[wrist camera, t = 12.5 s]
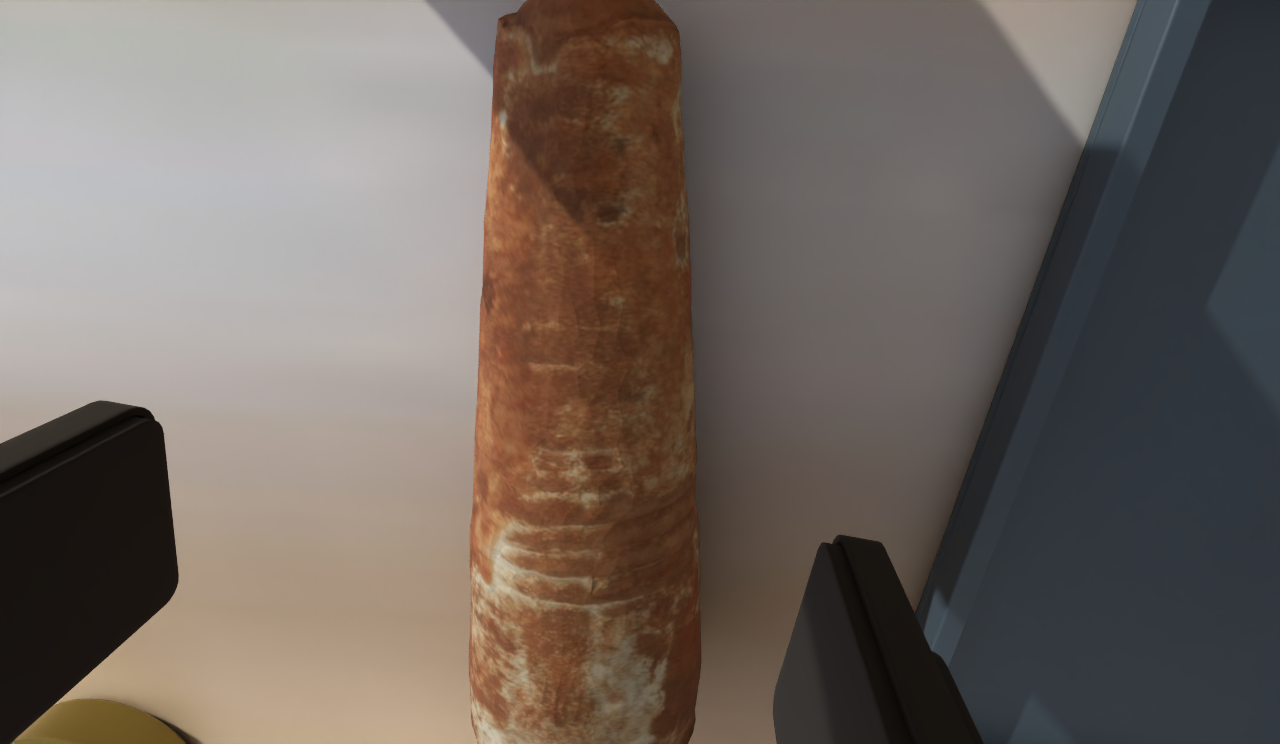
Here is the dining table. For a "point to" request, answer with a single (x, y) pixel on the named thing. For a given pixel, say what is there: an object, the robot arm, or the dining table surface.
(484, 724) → the bread
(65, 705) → the gold rounded tiered piece
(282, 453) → the dining table surface
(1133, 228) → the tray
